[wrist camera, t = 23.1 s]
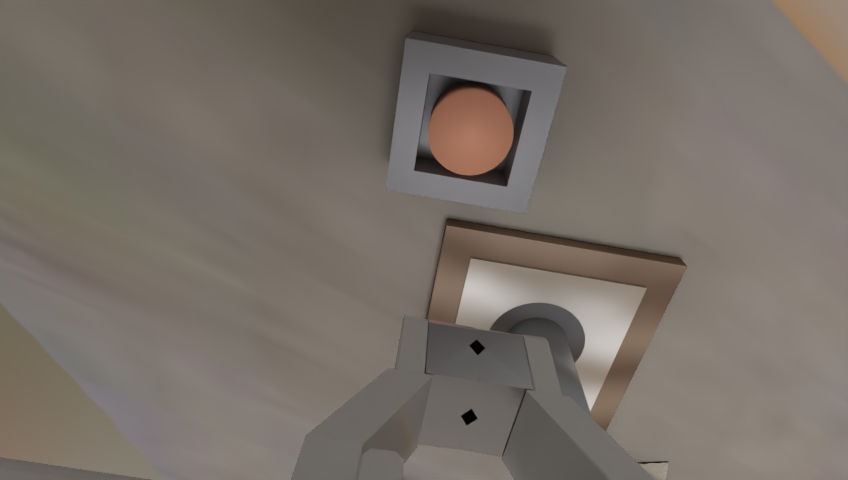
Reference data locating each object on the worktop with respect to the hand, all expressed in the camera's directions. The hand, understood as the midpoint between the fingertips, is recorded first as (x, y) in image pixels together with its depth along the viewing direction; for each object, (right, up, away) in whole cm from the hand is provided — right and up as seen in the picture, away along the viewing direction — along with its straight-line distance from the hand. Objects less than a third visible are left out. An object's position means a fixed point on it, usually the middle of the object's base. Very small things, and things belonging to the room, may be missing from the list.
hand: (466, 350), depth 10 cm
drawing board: (+7, -5, +26) cm, 28 cm away
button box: (+2, +10, +19) cm, 21 cm away
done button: (+2, +9, +17) cm, 19 cm away
